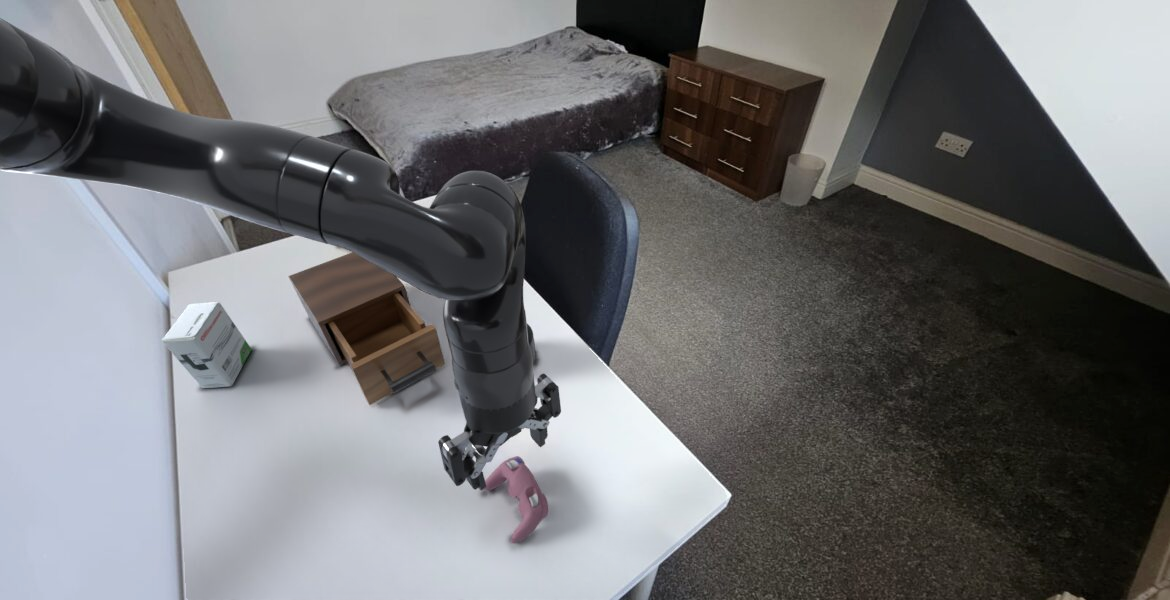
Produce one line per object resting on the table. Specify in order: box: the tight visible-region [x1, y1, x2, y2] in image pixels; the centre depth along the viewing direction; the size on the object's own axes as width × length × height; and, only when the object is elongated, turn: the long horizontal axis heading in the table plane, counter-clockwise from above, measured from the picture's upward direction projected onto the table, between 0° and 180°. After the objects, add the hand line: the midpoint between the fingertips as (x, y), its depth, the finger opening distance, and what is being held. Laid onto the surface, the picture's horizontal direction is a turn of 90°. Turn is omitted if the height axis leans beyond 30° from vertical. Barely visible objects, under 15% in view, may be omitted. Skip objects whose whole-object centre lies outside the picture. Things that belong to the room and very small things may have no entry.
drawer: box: [327, 292, 446, 406], centre depth 78 cm, size 19×13×9 cm
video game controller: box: [483, 455, 549, 544], centre depth 62 cm, size 10×5×7 cm, turn 34°
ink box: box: [161, 301, 252, 389], centre depth 77 cm, size 9×5×12 cm, turn 6°
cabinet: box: [288, 251, 412, 367], centre depth 86 cm, size 16×15×11 cm
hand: (509, 461), depth 57 cm, fingers open, 8 cm apart
